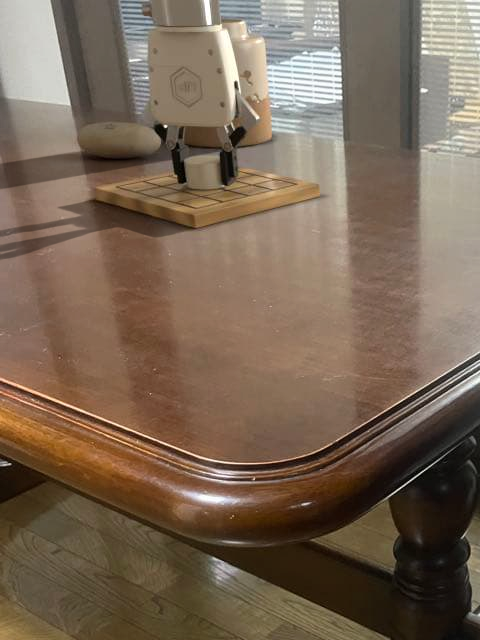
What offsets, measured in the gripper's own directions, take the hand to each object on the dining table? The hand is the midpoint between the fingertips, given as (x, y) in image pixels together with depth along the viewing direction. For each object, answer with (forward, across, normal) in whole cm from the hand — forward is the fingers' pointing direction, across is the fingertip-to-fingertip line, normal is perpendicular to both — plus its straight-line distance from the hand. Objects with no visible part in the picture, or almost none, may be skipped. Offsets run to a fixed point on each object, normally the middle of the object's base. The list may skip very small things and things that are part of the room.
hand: (207, 181), depth 110 cm
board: (+2, 0, 0) cm, 2 cm away
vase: (+2, -12, +38) cm, 40 cm away
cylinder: (0, 0, 0) cm, 0 cm away
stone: (+2, -22, +20) cm, 30 cm away
